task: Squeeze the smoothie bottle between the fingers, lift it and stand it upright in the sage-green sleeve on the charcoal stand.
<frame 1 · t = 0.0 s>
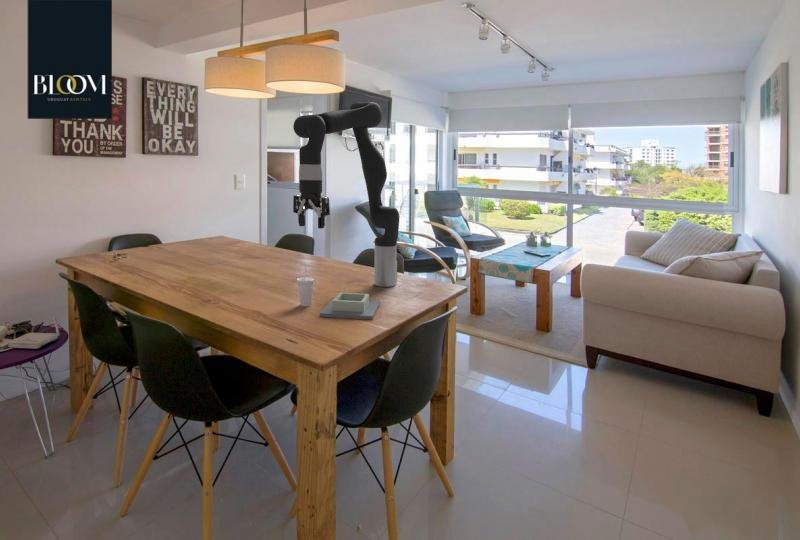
hand: (311, 227, 164), 29 cm above the table, fingers open, 8 cm apart
stand: (351, 310, 171), on the table
smoothie: (305, 305, 176), on the table
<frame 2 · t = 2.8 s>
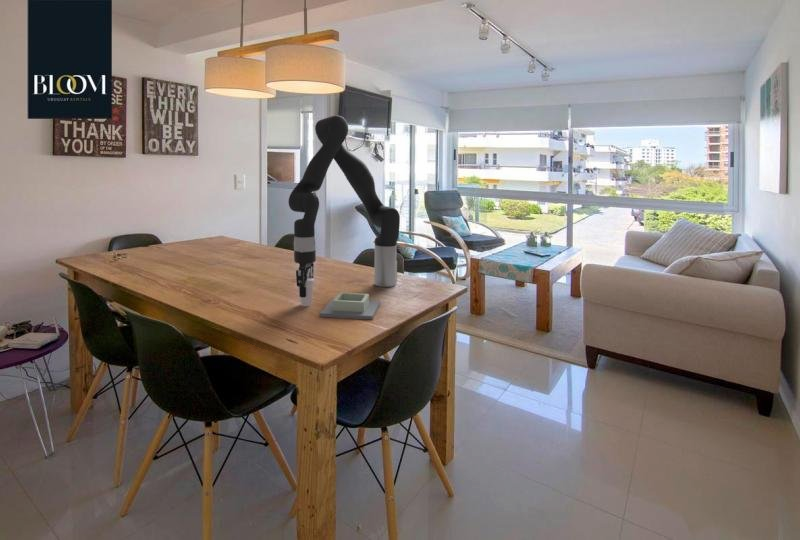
hand: (305, 294, 175), 4 cm above the table, fingers closed on smoothie, 6 cm apart
smoothie: (305, 305, 176), on the table, touching gripper
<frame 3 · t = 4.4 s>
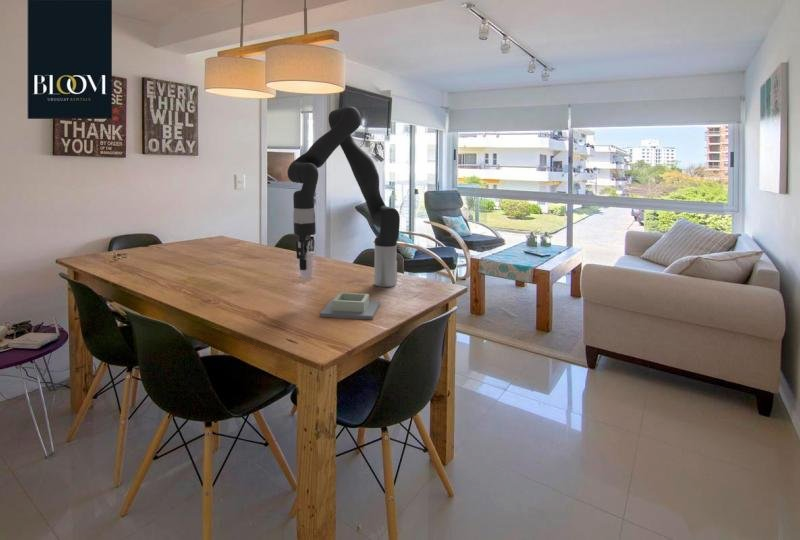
hand: (305, 267, 173), 14 cm above the table, fingers closed on smoothie, 6 cm apart
smoothie: (306, 279, 174), point 10 cm above the table, touching gripper
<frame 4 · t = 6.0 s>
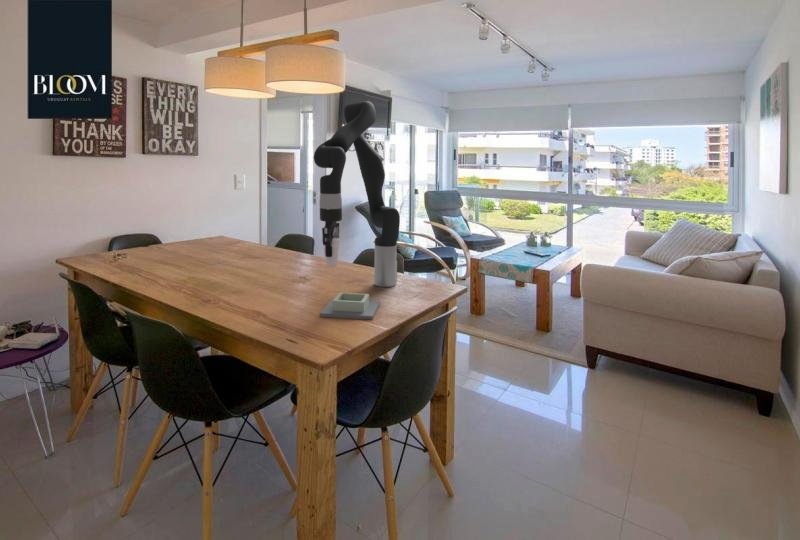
hand: (331, 254, 169), 19 cm above the table, fingers closed on smoothie, 6 cm apart
smoothie: (331, 266, 170), point 15 cm above the table, touching gripper
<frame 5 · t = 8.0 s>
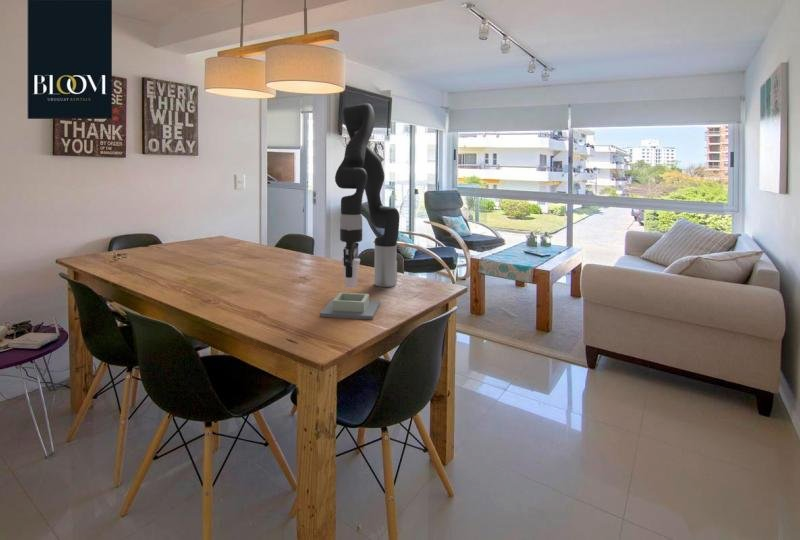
hand: (351, 274, 168), 13 cm above the table, fingers closed on smoothie, 6 cm apart
smoothie: (351, 286, 169), point 9 cm above the table, touching gripper
when the fingers open (7 cm above the table, at t = 9.7 s): smoothie drops 1 cm, resting on stand.
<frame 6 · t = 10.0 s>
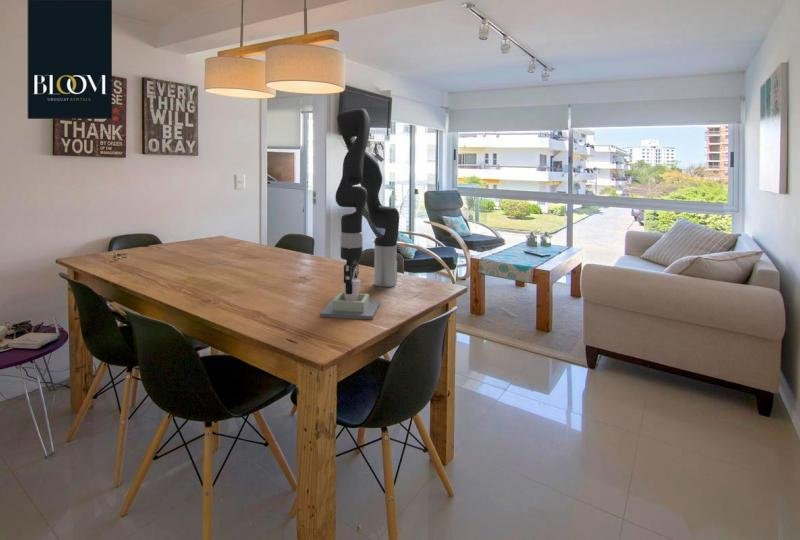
hand: (351, 290, 170), 7 cm above the table, fingers open, 8 cm apart
smoothie: (351, 307, 171), point 1 cm above the table, touching stand
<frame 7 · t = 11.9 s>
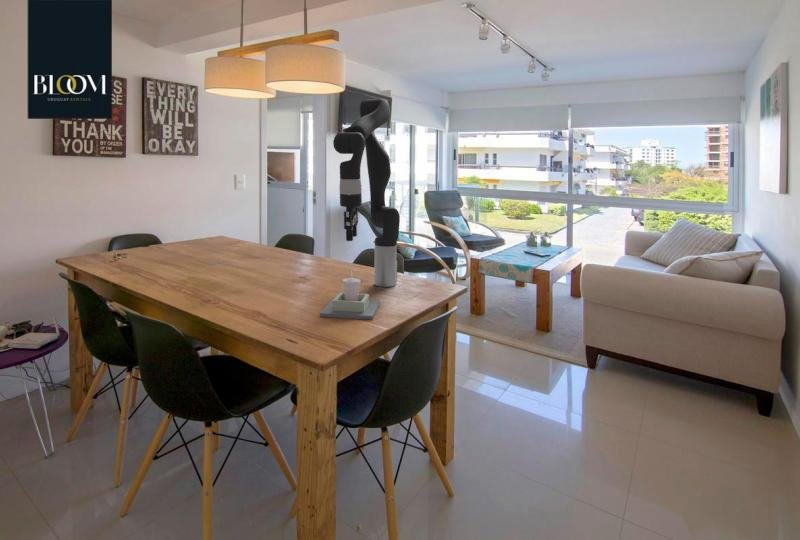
hand: (351, 238, 171), 25 cm above the table, fingers open, 8 cm apart
nothing on the table moved.
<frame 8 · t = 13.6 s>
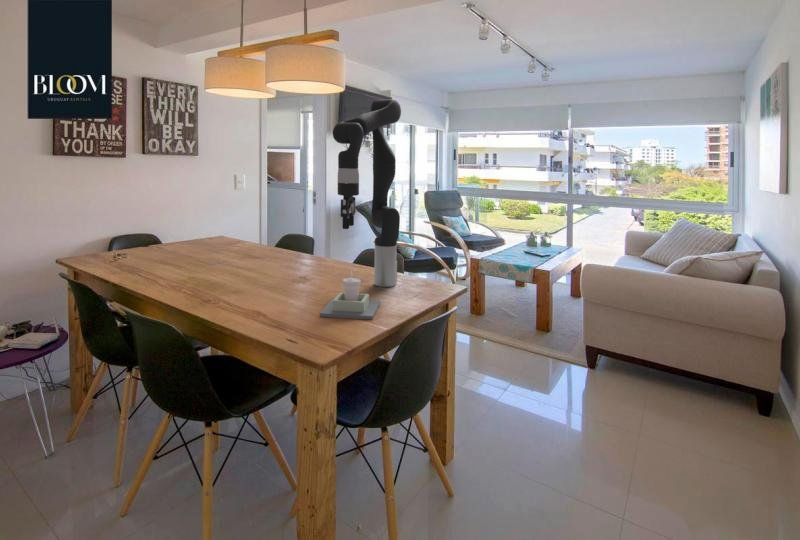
hand: (348, 227, 174), 28 cm above the table, fingers open, 8 cm apart
nothing on the table moved.
at the end: smoothie 0.2 cm off-centre on the stand, point 1.0 cm above the stand's base; smoothie tilted 0°; the gripper is holding nothing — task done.
